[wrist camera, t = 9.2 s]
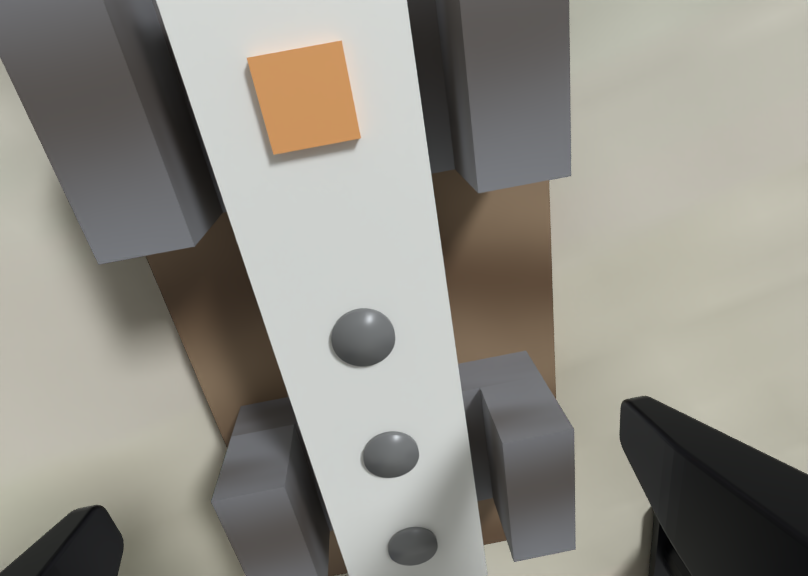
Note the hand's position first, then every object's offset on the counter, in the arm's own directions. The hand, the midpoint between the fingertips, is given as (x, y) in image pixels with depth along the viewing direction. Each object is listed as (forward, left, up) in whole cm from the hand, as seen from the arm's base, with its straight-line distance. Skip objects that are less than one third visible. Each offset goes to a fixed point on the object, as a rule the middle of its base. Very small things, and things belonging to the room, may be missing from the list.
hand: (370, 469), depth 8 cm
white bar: (0, 0, -6) cm, 6 cm away
